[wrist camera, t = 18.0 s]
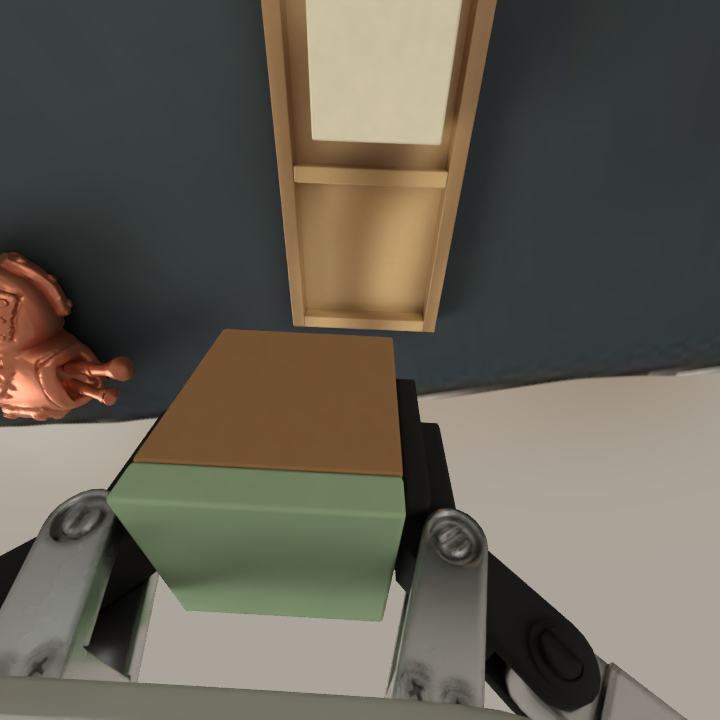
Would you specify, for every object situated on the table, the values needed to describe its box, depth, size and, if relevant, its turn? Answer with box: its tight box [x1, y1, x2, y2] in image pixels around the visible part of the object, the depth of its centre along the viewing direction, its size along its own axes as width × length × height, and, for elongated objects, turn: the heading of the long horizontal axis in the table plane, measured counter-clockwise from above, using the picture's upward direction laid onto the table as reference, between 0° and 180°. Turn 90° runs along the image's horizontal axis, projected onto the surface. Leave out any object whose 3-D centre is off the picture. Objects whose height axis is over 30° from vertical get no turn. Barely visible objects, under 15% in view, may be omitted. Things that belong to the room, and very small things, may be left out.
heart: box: [0, 252, 134, 421], centre depth 23 cm, size 6×12×15 cm
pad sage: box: [107, 329, 406, 621], centre depth 9 cm, size 5×5×6 cm
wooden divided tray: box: [261, 0, 497, 332], centre depth 18 cm, size 10×18×2 cm, turn 178°
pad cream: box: [306, 0, 462, 145], centre depth 14 cm, size 5×5×6 cm
